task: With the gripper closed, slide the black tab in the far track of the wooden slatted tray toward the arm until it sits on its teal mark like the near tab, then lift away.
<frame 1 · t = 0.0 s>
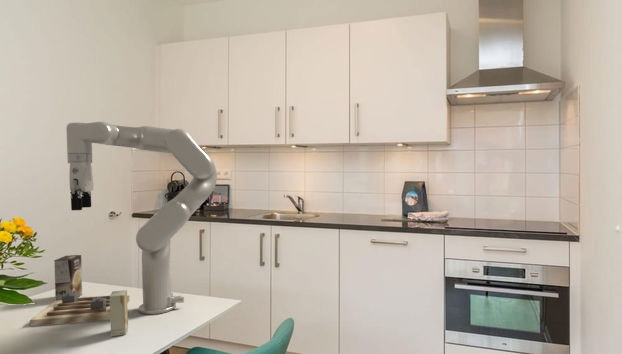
hand: (81, 208, 148), 37 cm above the table, tool pointing down, fingers open, 9 cm apart
switch tab near: (98, 303, 148), point 4 cm above the table, slide at 0.0 cm
switch tab far: (70, 297, 155), point 4 cm above the table, slide at 0.0 cm
wooden slatted tray: (83, 312, 151), on the table
skincare box: (119, 332, 132), on the table
coffee box: (69, 298, 167), on the table
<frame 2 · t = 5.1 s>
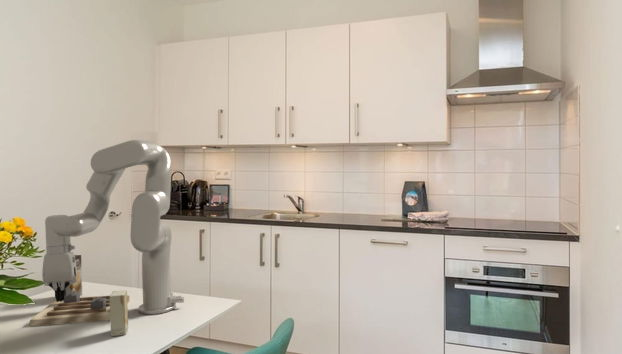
hand: (60, 300, 154), 3 cm above the table, tool pointing down, fingers closed
switch tab far: (72, 297, 155), point 4 cm above the table, slide at 0.7 cm, touching gripper
everything else where it was.
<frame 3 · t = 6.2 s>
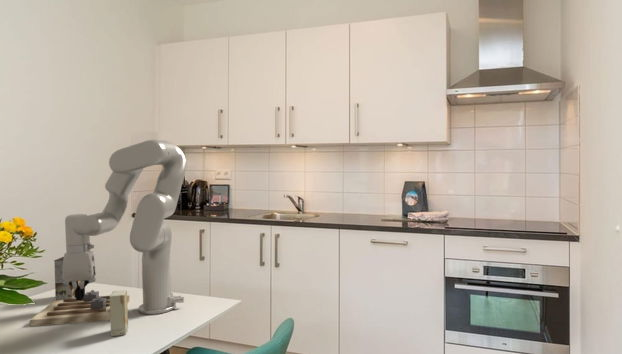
hand: (80, 299, 155), 3 cm above the table, tool pointing down, fingers closed
switch tab far: (91, 296, 156), point 4 cm above the table, slide at 7.2 cm, touching gripper
everything else where it was.
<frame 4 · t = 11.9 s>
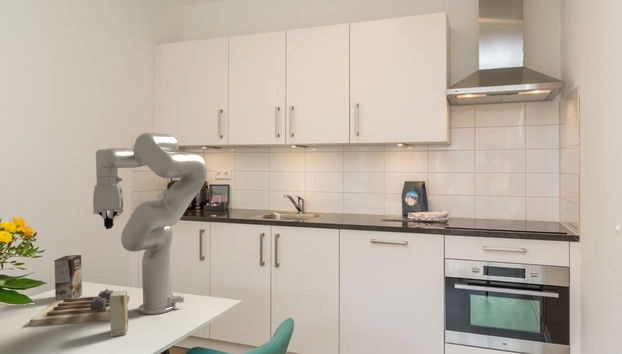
hand: (109, 228, 167), 27 cm above the table, tool pointing down, fingers closed
switch tab far: (105, 295, 157), point 4 cm above the table, slide at 12.1 cm
everything else where it was.
at the end: switch tab far slide at 12.1 cm; switch tab near slide at 0.0 cm; coffee box moved 0.2 cm from its start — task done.
